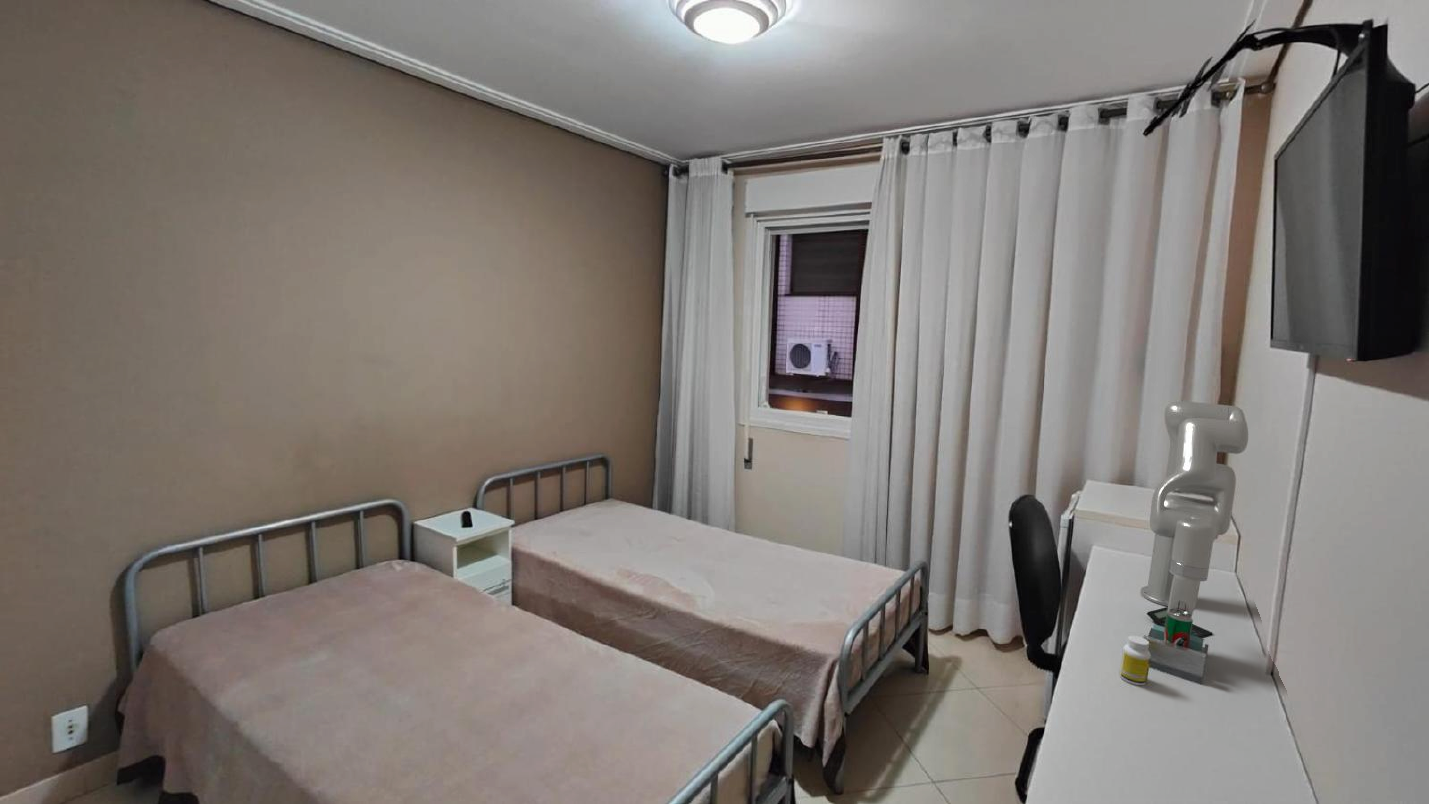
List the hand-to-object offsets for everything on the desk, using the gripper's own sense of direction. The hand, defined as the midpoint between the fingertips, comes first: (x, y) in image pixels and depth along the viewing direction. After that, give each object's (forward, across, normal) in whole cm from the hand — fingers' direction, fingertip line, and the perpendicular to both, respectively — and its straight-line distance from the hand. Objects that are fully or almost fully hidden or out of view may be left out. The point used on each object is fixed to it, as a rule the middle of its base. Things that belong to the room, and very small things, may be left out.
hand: (1177, 639), depth 159 cm
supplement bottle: (+4, +22, -6) cm, 23 cm away
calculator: (+4, -17, -1) cm, 18 cm away
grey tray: (+4, +4, 0) cm, 5 cm away
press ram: (+2, +4, 0) cm, 4 cm away
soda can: (+2, +8, 0) cm, 8 cm away
